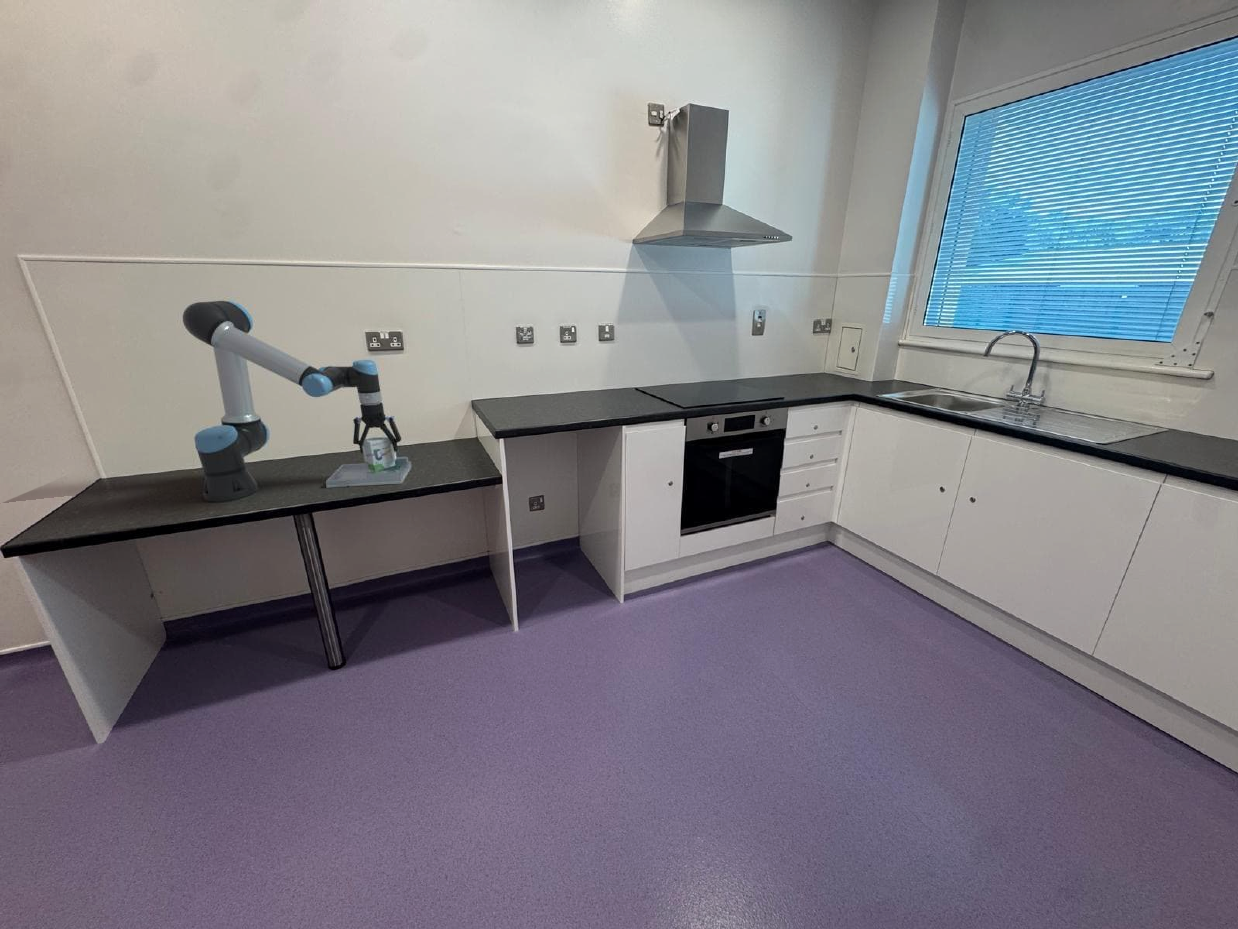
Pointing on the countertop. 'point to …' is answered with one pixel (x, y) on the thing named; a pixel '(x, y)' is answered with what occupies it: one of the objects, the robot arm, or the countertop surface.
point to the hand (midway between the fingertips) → (380, 460)
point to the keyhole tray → (361, 475)
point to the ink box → (378, 453)
